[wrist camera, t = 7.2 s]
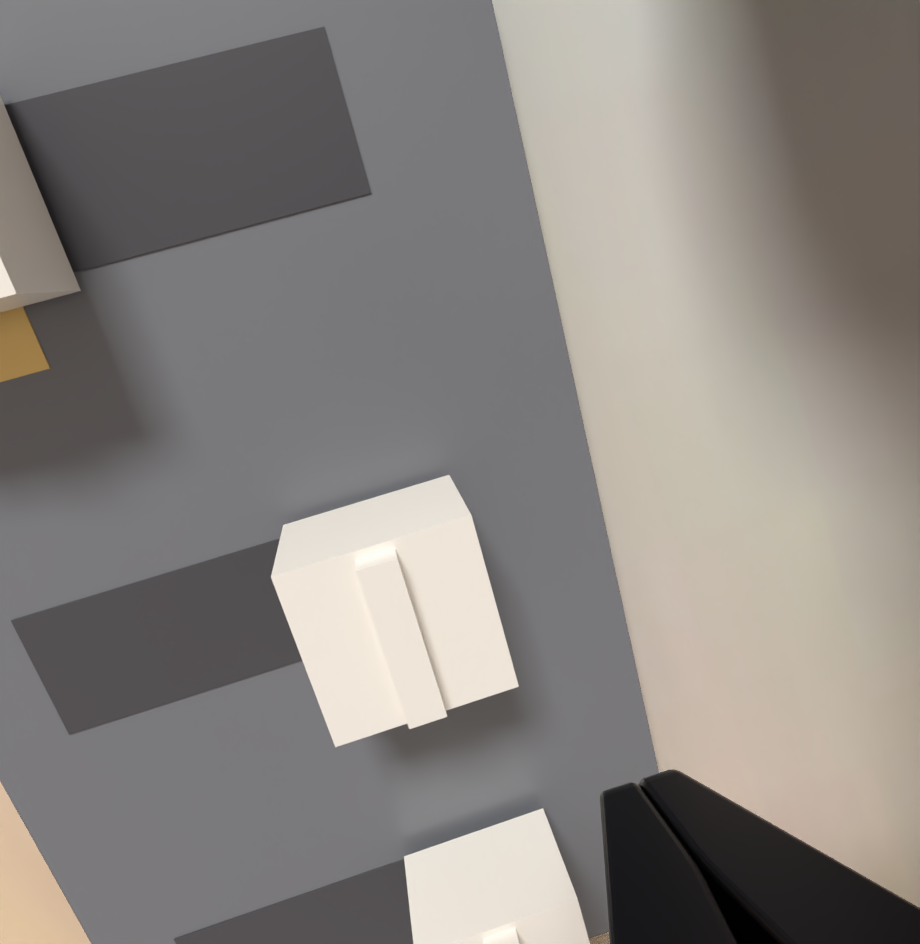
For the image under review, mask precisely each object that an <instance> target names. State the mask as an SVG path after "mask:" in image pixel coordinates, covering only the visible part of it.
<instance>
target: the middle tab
mask: <svg viewBox="0 0 920 944" xmlns="http://www.w3.org/2000/svg"><path fill="white" fill-rule="evenodd" d="M271 579H272V582H273V584H274V587H275V589H276V592H277V595H278V597H279V600H280V603H281V605H282V608H283V611H284V613H285V616H286V619H287V621H288V624H289V626H290V629H291V632H292V634H293V637H294V640H295V642H296V645H297V648H298V650H299V653H300V655H301V658H302V661H303V663H304V666H305V669H306V671H307V674H308V677H309V679H310V682H311V684H312V687H313V690H314V692H315V695H316V698H317V700H318V703H319V706H320V708H321V711H322V714H323V716H324V719H325V721H326V724H327V727H328V729H329V732H330V735H331V737H332V740H333V743H334V745H335V747H338V746H341V745H344V744H347V743H350V742H353V741H356V740H359V739H362V738H365V737H368V736H371V735H374V734H377V733H380V732H383V731H386V730H389V729H392V728H395V727H398V726H401V725H404V724H408V727H409V729H412V728H415V727H418V726H421V725H424V724H427V723H430V722H433V721H436V720H439V719H442V718H445V717H447V713H446V711H447V710H450V709H453V708H456V707H459V706H462V705H465V704H468V703H471V702H474V701H477V700H480V699H483V698H486V697H489V696H492V695H495V694H498V693H501V692H504V691H507V690H510V689H513V688H516V687H519V685H518V682H517V678H516V674H515V671H514V667H513V663H512V660H511V656H510V653H509V649H508V645H507V642H506V638H505V635H504V631H503V627H502V624H501V620H500V616H499V613H498V609H497V606H496V602H495V598H494V595H493V591H492V587H491V584H490V580H489V577H488V573H487V569H486V566H485V562H484V559H483V555H482V551H481V548H480V544H479V540H478V537H477V533H476V530H475V526H474V522H473V519H472V515H471V513H470V512H469V510H468V508H467V506H466V504H465V502H464V501H463V499H462V497H461V495H460V493H459V492H458V490H457V488H456V486H455V484H454V483H453V481H452V479H451V477H450V475H446V476H443V477H440V478H436V479H433V480H430V481H427V482H423V483H420V484H417V485H413V486H410V487H407V488H403V489H400V490H397V491H394V492H390V493H387V494H384V495H380V496H377V497H374V498H371V499H367V500H364V501H361V502H357V503H354V504H351V505H347V506H344V507H341V508H338V509H334V510H331V511H328V512H324V513H321V514H318V515H314V516H311V517H308V518H305V519H301V520H298V521H295V522H291V523H288V524H285V525H283V528H282V532H281V536H280V540H279V545H278V549H277V553H276V557H275V562H274V566H273V570H272V574H271Z"/></svg>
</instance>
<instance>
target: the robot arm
mask: <svg viewBox="0 0 920 944" xmlns="http://www.w3.org/2000/svg"><path fill="white" fill-rule="evenodd" d="M600 810H601V824H602V838H603V852H604V867H605V881H606V895H607V910H608V924H609V938H610V944H920V908H919V907H917V906H915V905H913V904H912V903H910V902H908V901H906V900H905V899H903V898H901V897H899V896H898V895H896V894H894V893H892V892H891V891H889V890H887V889H885V888H884V887H882V886H880V885H878V884H877V883H875V882H873V881H871V880H870V879H868V878H866V877H864V876H862V875H861V874H859V873H857V872H855V871H854V870H852V869H850V868H848V867H847V866H845V865H843V864H841V863H840V862H838V861H836V860H834V859H833V858H831V857H829V856H827V855H826V854H824V853H822V852H820V851H819V850H817V849H815V848H813V847H812V846H810V845H808V844H806V843H805V842H803V841H801V840H799V839H798V838H796V837H794V836H792V835H791V834H789V833H787V832H785V831H784V830H782V829H780V828H778V827H777V826H775V825H773V824H771V823H770V822H768V821H766V820H764V819H763V818H761V817H759V816H757V815H756V814H754V813H752V812H750V811H749V810H747V809H745V808H743V807H742V806H740V805H738V804H736V803H735V802H733V801H731V800H729V799H728V798H726V797H724V796H722V795H721V794H719V793H717V792H715V791H714V790H712V789H710V788H708V787H707V786H705V785H703V784H701V783H700V782H698V781H696V780H694V779H692V778H691V777H689V776H687V775H685V774H684V773H682V772H680V771H677V770H667V771H664V772H661V773H658V774H655V775H651V776H648V777H645V778H643V779H642V780H641V781H640V782H639V785H638V784H636V783H633V782H630V783H626V784H623V785H620V786H617V787H614V788H611V789H608V790H605V791H603V792H602V793H601V795H600Z"/></svg>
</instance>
